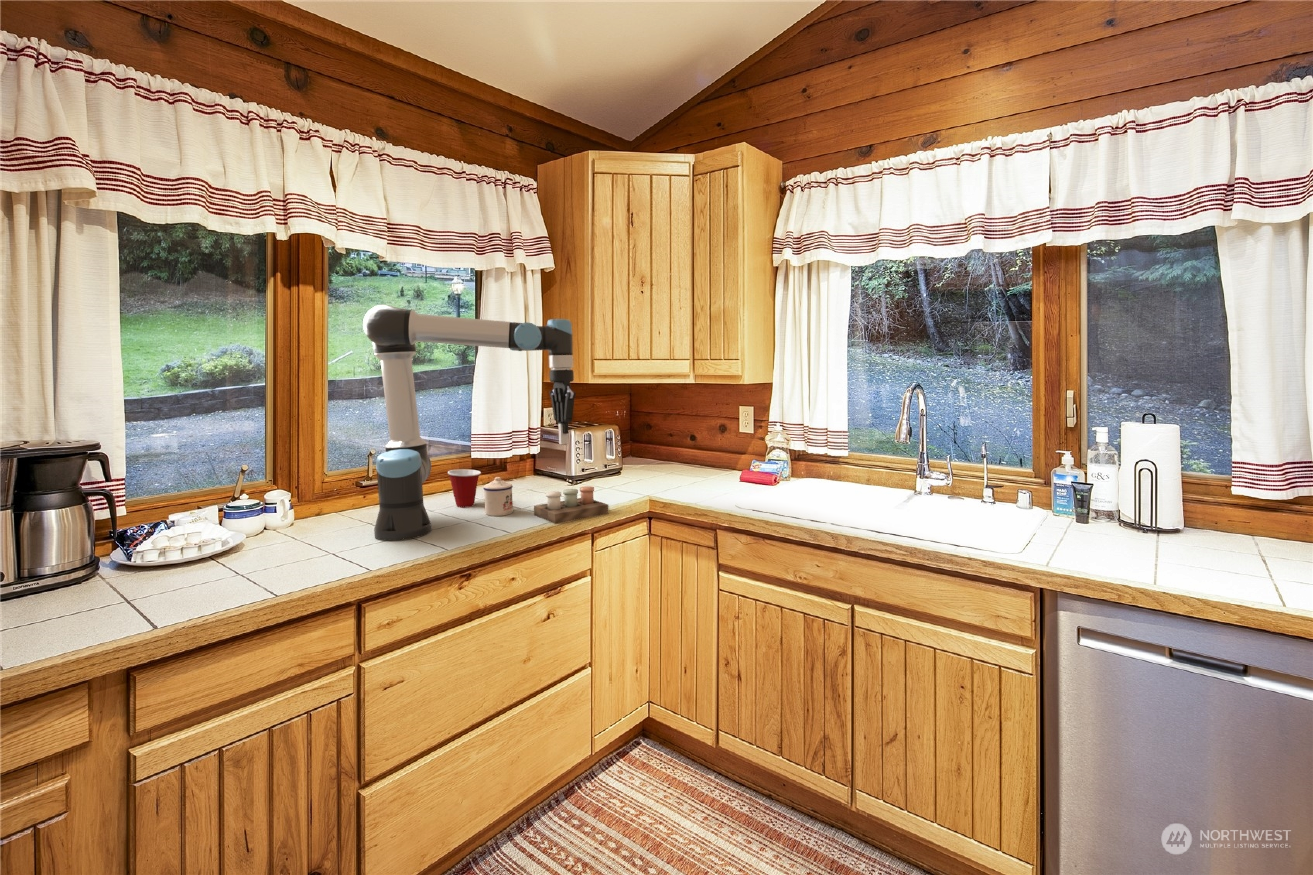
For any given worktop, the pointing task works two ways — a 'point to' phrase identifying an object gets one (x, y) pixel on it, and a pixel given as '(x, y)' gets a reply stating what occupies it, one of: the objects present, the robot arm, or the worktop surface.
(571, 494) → the sage button
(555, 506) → the cream button
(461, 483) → the plastic cup
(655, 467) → the worktop surface
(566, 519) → the button board
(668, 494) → the worktop surface
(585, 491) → the pink short cylinder
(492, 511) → the teacup with lid
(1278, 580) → the worktop surface
